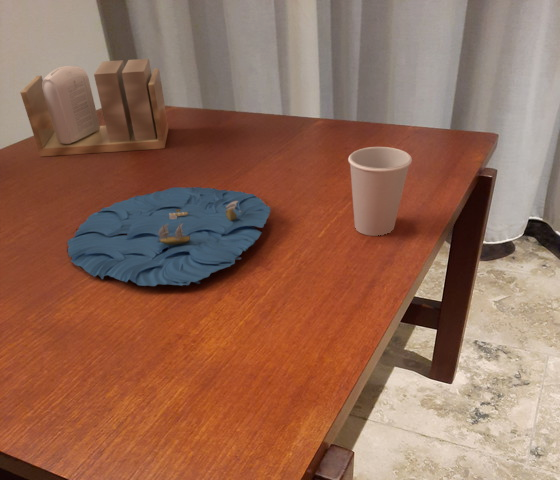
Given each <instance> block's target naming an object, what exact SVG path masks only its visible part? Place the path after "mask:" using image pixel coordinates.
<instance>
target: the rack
mask: <svg viewBox="0 0 560 480" xmlns="http://www.w3.org/2000/svg"><path fill="white" fill-rule="evenodd" d="M93 77H94V81H95V86H96V90H97V95H98V98H99V102H100V107H101V112H102V115H103V120H104V124H105V125H100V129H99V130H97V131H96V132H94V133H91V134H89V135H87V136H85V137H83V138H81V139H79V140H77V141H75V142H72V143H71V144H63V143H60V142H59V141H58V140H57V138H56V135H55V131H54V128H53V124H52V121H51V117H50V114H49V110H48V107H47V103H46V100H45V96H44V93H43V89H42V82H43V80H44V78H43V76H42V75H36V76H35V77H34V78H33V79H32V80H30V81H29V83H28V84H27V85H26V86H25V87H24V88H22V90H21V91H20V93H19V94H20V96H21V100H22V103H23V105H24V109H25V112H26V116H27V119H28V121H29V124H30V128H31V131H32V134H33V137H34V140H35V144H36V147H37V150H38V153H39V156H40V157H42V158H43V157H55V156H56V157H57V156H73V155H85V154H100V153H101V154H102V153H117V152H131V151H144V150H145V151H146V150H147V151H148V150H163V149H165V148H166V143H167V138H168V135H169V122H168V117H167V110H166V103H165V97H164V92H163V85H162V79H161V73H160V68H154V69H153V71H152V69H151V62H150V58H140V59H139V58H138V59H128V60H127V61H126V63H124V60H123V59H122V60H120V59H119V60H106V61H102V62H101V63H100V65H99V66H98V68H97V69H96V71H95V72H94V73H93Z"/></svg>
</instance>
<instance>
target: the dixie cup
mask: <svg viewBox="0 0 560 480" xmlns="http://www.w3.org/2000/svg"><path fill="white" fill-rule="evenodd" d="M347 160H348V163H349V166H350V179H351V193H352V195H351V196H352V207H353V221H354V229H355V228H356V229H355V231H357V232H358V233H359V234H362V235H366V236H370V237H380V235H381V236H385V235H384V234H386V235H388V234H387V233H389V234H390V233H392V232H393V231H394V229H395V225H396V221H397V217H398V213H399V209H400V205H401V200H402V197H403V192H404V188H405V184H406V180H407V175H408V171H409V168H410V165H411V164H412V163H413V162H412V161H413V158H412V156H411V155H410V153H408V152H406V151H405V150H403V149H399V148H395V147H391V146H390V147H388V146H369V147H363V148H360V149H357V150H354V151H353V152H351V154H350V155H349V156H348V159H347ZM392 230H393V231H392ZM391 231H392V232H391ZM378 235H379V236H378Z"/></svg>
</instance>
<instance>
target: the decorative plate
mask: <svg viewBox="0 0 560 480" xmlns="http://www.w3.org/2000/svg"><path fill="white" fill-rule="evenodd" d="M271 210H272V209H271V206H268V205H267V204H266V203H265V202H264V201H263V199H261V198H260V197H258V196H256V195H255V194H254V193H246V192H245V191H240V190H239V191H236V190H227V189H218V188H215V187H213V188H211V187H200V186H195V187H194V186H192V187H189V186H185V187H181V186H180V187H179V186H176V187H175V186H174V187H170V188H167V189H165V190H157V191H155V192H152V193H146V194H143V195H135V196H133V197H129V198H128V199H123V200H122V201H116V202H114V203H113V204H111V205H110V206H106V207H102V208H101V209H100V210H99V211H95V212H94V213H91V214H90V215H89V216H88V217H87V219H86V220H85V221H84V222H83V223H81V224H80V225H79V227H78V230H76V231H75V232H74V237H71V238H69V239H68V241H67V246H68V248H67V253H68V257H69V258H71V260H70V262H72V264H74V265H75V266H77V267H81V268H82V270H84V271H85V272H86V273H88V274H89V275H90V276H93V277H94V278H95V277H97V276H98V277H100V279H101V280H104V277H107V276H109V277H110V278H114V279H116V280H119V281H121V282H125V283H128V281H130V282H131V283H134V284H136V285H137V286H142V287H143V286H144V287H146V286H149V287H156V286H157V285H164V286H165V285H170V286H171V285H172V286H179V287H180V286H181V287H183V286H189V285H190V284H191V283H195V284H198V285H199V284H201V282H200V281H201V280H204V279H205V278H208V277H210V275H211V274H212V273H216V272H218V271H220V270H223V269H226V268H230V267H231V266H232V265H235V264H236V260H237V261H238V260H242V257H240V255H242V253H243V252H247V250H248V249H249V248H250V247H252V246H254V244H255V243H256V241H257V240H258V239H259V238H260V236H261V235H262V233H263V232H261V231H260V230H258V229H257V228H260V229H262V228H264V226H265V225H266V224H267V220H268V218H270V214H271Z"/></svg>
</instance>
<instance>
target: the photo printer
mask: <svg viewBox="0 0 560 480" xmlns="http://www.w3.org/2000/svg"><path fill="white" fill-rule="evenodd" d="M42 89H43V93H44V96H45V100H46V103H47V107H48V110H49V114H50V117H51V121H52V124H53V128H54V131H55V135H56V138H57V140H58V141H59V142H60V143H63V144H71V143H72V142H75V141H77V140H79V139H81V138H83V137H85V136H87V135H89V134H91V133H94V132H96V131H97V130H99V129H100V126H101V125H100V121H99V117H98V112H97V109H96V105H95V104H96V103H95V100H94V96H93V91H92V88H91V83H90V79H89V76H88V74H87V72H86V71H85V69H84V68H82V67H81V66H76V65H64V66H60V67H57V68H55V69H52V71H50V72H49V73H48V74H47V75H46V76H45V77H44V78H43V82H42Z"/></svg>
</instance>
